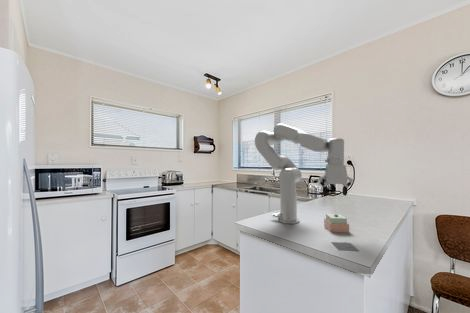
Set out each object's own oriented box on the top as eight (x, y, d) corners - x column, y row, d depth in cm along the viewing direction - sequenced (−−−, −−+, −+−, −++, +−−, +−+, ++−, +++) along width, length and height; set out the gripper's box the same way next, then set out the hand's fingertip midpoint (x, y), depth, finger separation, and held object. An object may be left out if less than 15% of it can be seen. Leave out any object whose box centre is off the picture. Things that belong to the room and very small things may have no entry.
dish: (330, 232, 100) (330, 223, 100) (324, 226, 109) (324, 218, 109) (349, 233, 99) (349, 224, 99) (341, 227, 108) (341, 219, 108)
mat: (338, 251, 79) (338, 250, 79) (330, 243, 87) (330, 241, 87) (359, 252, 79) (359, 251, 79) (350, 243, 87) (350, 242, 87)
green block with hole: (331, 223, 101) (331, 216, 101) (326, 218, 108) (325, 212, 108) (346, 223, 100) (346, 217, 100) (340, 219, 107) (340, 213, 107)
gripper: (320, 161, 102) (320, 195, 102) (356, 162, 100) (355, 196, 100) (316, 161, 109) (315, 192, 109) (349, 162, 107) (348, 194, 107)
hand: (334, 194), depth 104 cm, fingers open, 9 cm apart
